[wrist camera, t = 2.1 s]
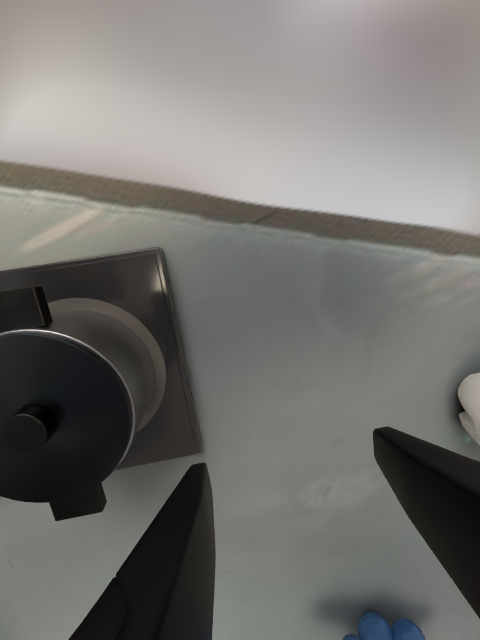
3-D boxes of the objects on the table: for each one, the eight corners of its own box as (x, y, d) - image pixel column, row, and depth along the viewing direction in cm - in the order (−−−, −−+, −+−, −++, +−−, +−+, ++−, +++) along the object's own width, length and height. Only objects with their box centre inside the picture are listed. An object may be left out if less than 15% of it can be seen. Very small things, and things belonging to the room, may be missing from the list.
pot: (44, 471, 19) (-32, 567, 13) (-17, 293, 17) (-144, 313, 11) (172, 446, 20) (154, 528, 14) (131, 270, 17) (88, 276, 11)
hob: (-135, 510, 20) (-157, 526, 19) (-238, 309, 17) (-271, 312, 16) (202, 444, 21) (201, 455, 20) (161, 247, 18) (158, 246, 17)
